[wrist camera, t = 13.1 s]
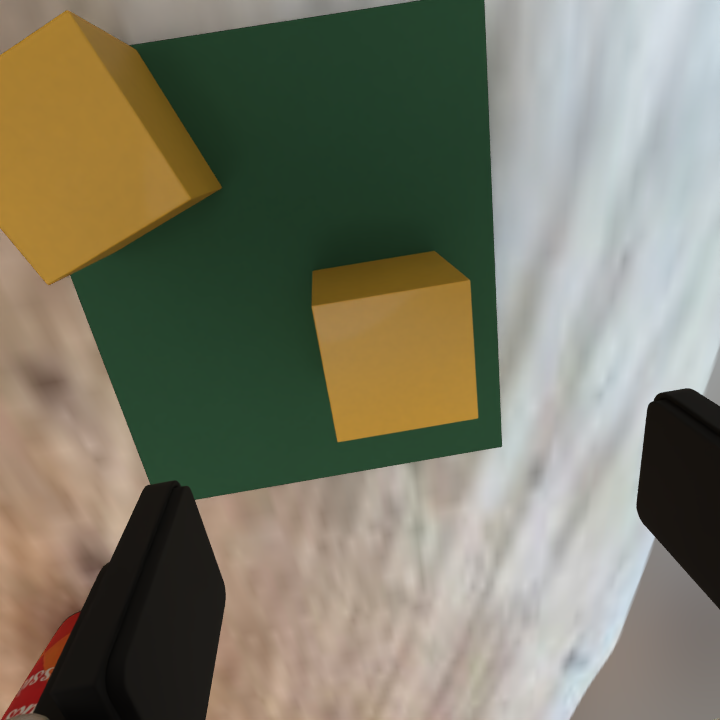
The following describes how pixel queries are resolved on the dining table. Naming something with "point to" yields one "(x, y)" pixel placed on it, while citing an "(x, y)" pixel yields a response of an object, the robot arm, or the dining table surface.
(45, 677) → the paper cup
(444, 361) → the yellow block
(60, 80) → the yellow block
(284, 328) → the towel
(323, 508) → the dining table surface
